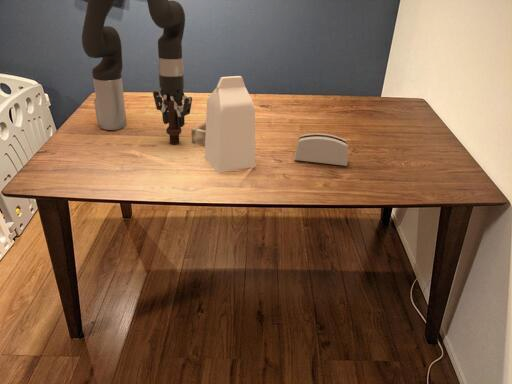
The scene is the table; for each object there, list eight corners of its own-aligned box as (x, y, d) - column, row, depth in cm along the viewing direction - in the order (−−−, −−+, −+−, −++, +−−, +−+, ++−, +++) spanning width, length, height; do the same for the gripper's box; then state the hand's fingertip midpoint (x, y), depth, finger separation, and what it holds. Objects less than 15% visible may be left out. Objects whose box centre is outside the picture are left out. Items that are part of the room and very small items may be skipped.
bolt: (179, 147, 132) (177, 102, 125) (164, 145, 133) (161, 101, 126) (184, 140, 137) (182, 97, 130) (169, 139, 138) (167, 96, 131)
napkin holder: (346, 162, 129) (351, 134, 123) (346, 170, 125) (352, 141, 120) (294, 156, 131) (297, 128, 125) (293, 163, 127) (296, 135, 121)
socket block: (191, 143, 136) (191, 129, 134) (210, 133, 145) (210, 119, 143) (218, 150, 132) (218, 135, 130) (235, 139, 141) (236, 125, 139)
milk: (218, 172, 118) (219, 83, 105) (204, 157, 126) (203, 73, 114) (255, 166, 123) (260, 80, 110) (239, 152, 131) (242, 71, 119)
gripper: (144, 71, 124) (148, 124, 132) (183, 78, 118) (185, 133, 126) (160, 67, 129) (163, 117, 138) (197, 73, 124) (198, 126, 132)
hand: (173, 124), depth 132 cm, fingers open, 5 cm apart
